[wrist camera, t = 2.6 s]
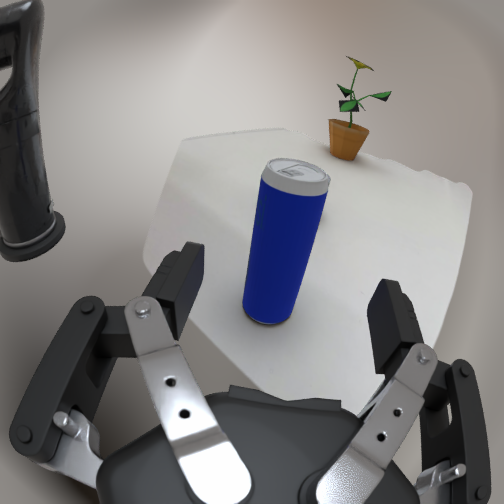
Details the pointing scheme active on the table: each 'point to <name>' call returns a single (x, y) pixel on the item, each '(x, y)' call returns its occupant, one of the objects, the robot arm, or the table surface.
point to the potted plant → (349, 124)
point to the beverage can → (282, 237)
